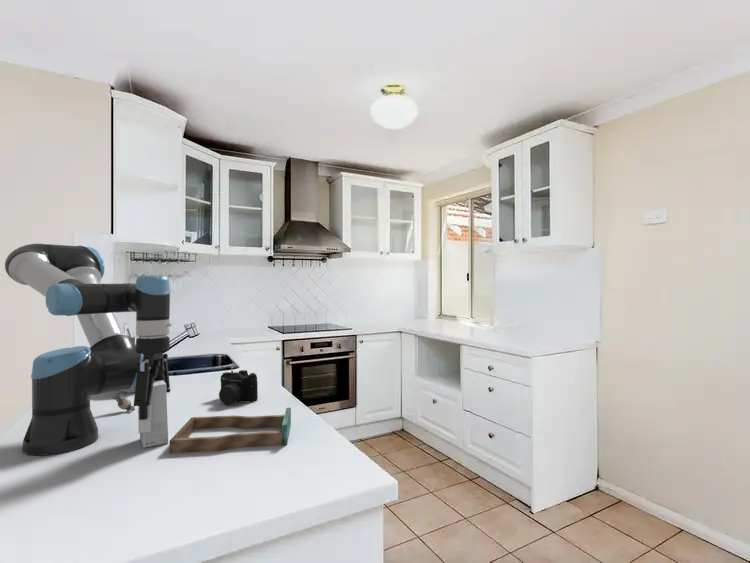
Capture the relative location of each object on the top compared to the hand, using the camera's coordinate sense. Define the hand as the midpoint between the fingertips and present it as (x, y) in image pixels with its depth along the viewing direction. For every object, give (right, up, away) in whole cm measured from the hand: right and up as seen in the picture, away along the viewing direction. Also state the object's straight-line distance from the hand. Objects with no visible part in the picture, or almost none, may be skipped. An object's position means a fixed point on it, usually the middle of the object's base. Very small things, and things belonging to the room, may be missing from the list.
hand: (153, 424), depth 107 cm
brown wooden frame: (+21, -4, +3) cm, 21 cm away
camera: (+8, -5, +36) cm, 37 cm away
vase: (-22, -5, +24) cm, 33 cm away
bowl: (-34, -5, +51) cm, 62 cm away
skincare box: (0, -4, 0) cm, 4 cm away
